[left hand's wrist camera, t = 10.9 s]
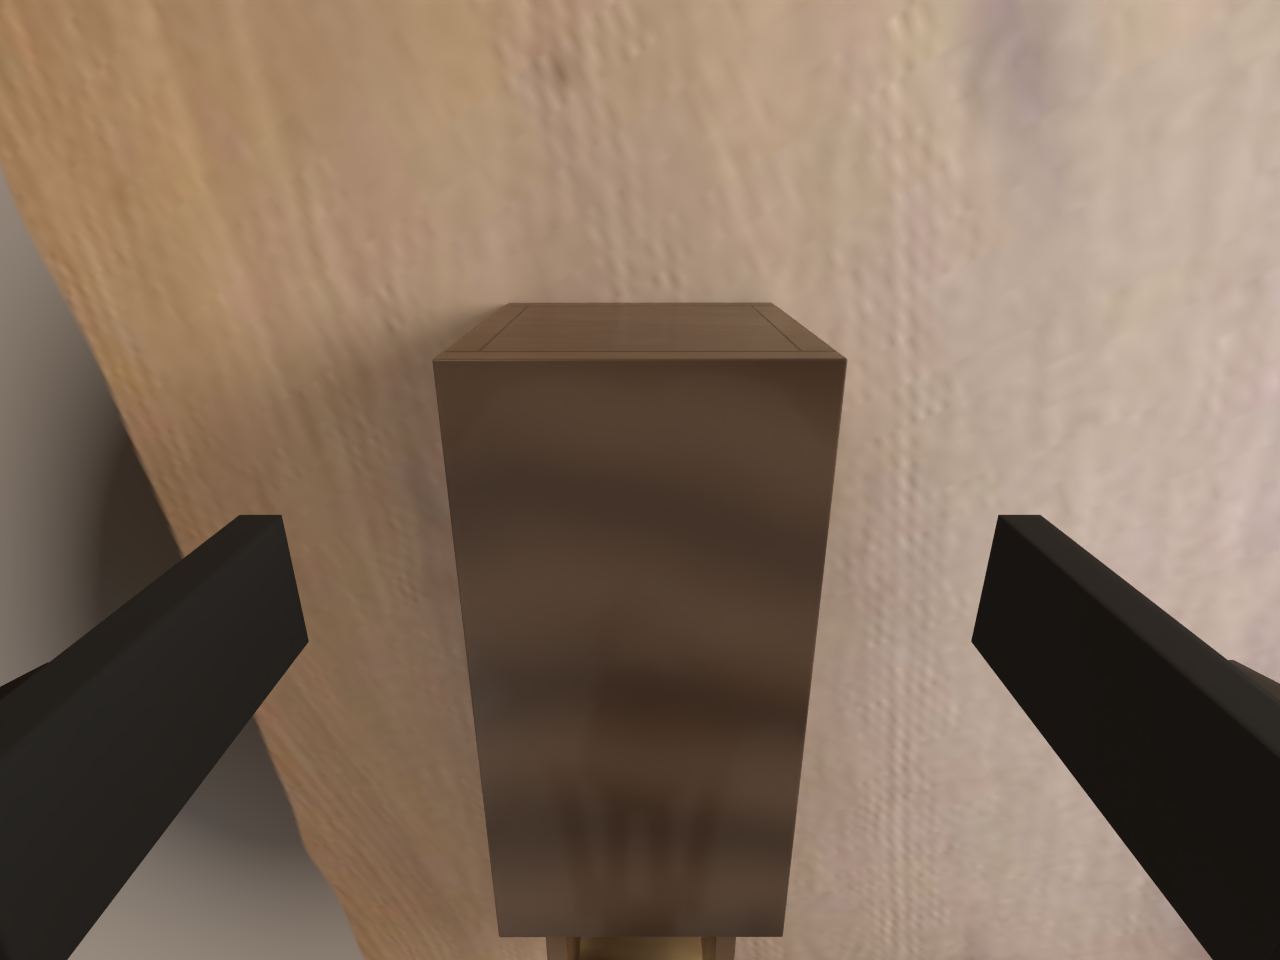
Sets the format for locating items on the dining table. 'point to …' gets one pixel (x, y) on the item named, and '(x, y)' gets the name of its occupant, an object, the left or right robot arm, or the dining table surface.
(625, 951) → the drawer
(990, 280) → the dining table surface
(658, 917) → the cabinet
